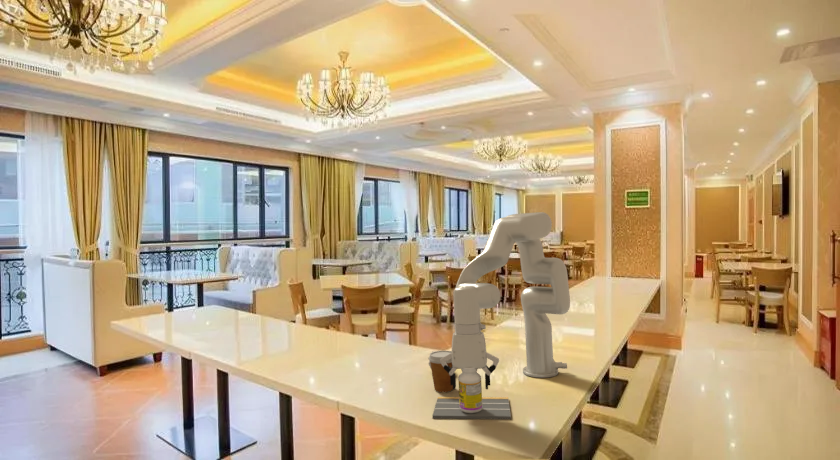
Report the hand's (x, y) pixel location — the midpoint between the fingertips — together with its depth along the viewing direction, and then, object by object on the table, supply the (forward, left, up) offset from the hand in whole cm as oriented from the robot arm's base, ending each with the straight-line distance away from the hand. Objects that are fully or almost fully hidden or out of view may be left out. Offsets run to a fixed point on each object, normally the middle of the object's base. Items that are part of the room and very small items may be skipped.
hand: (470, 387), depth 131 cm
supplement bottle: (0, 0, -7) cm, 7 cm away
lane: (0, -3, -7) cm, 8 cm away
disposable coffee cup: (+10, -20, -7) cm, 24 cm away
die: (+13, -38, -7) cm, 41 cm away
